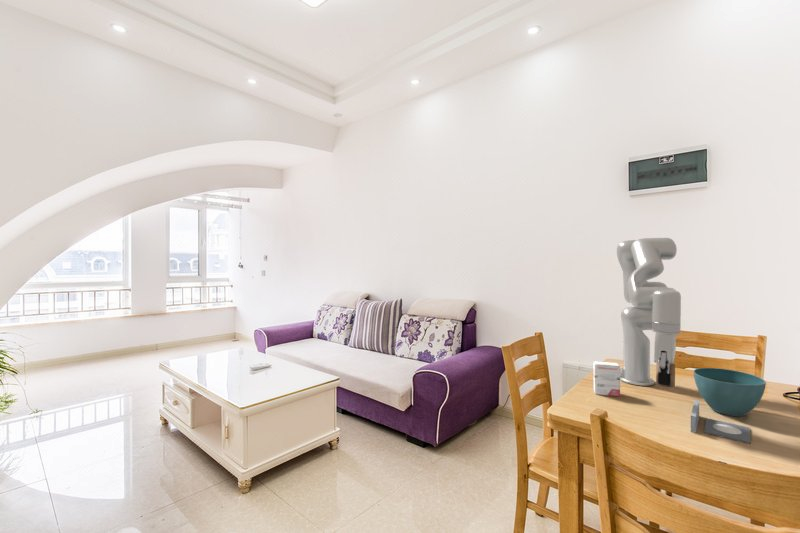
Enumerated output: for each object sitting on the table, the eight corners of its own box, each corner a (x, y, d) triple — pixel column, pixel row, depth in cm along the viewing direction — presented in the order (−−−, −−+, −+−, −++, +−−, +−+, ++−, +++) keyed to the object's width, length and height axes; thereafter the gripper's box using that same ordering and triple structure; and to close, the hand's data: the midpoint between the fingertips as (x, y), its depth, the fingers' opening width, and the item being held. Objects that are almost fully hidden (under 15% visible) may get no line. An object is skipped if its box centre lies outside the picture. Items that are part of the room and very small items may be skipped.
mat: (704, 432, 109) (704, 430, 109) (706, 419, 118) (706, 417, 118) (750, 443, 103) (750, 441, 103) (749, 429, 112) (749, 427, 112)
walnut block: (655, 385, 121) (655, 364, 120) (657, 380, 124) (657, 360, 124) (673, 388, 117) (674, 367, 117) (675, 384, 121) (676, 363, 121)
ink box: (617, 392, 143) (617, 362, 143) (620, 397, 138) (620, 365, 138) (592, 390, 146) (592, 360, 146) (595, 394, 141) (595, 363, 141)
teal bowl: (773, 428, 112) (774, 388, 112) (697, 415, 122) (697, 378, 121) (756, 407, 127) (756, 372, 127) (689, 397, 137) (690, 365, 137)
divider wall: (690, 431, 110) (690, 415, 110) (694, 415, 122) (694, 400, 122) (695, 433, 109) (695, 416, 109) (699, 416, 121) (699, 400, 121)
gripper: (656, 322, 129) (655, 373, 130) (648, 330, 116) (647, 387, 117) (683, 324, 124) (682, 377, 125) (677, 333, 111) (676, 392, 112)
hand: (665, 381), depth 121 cm, fingers closed on walnut block, 5 cm apart
